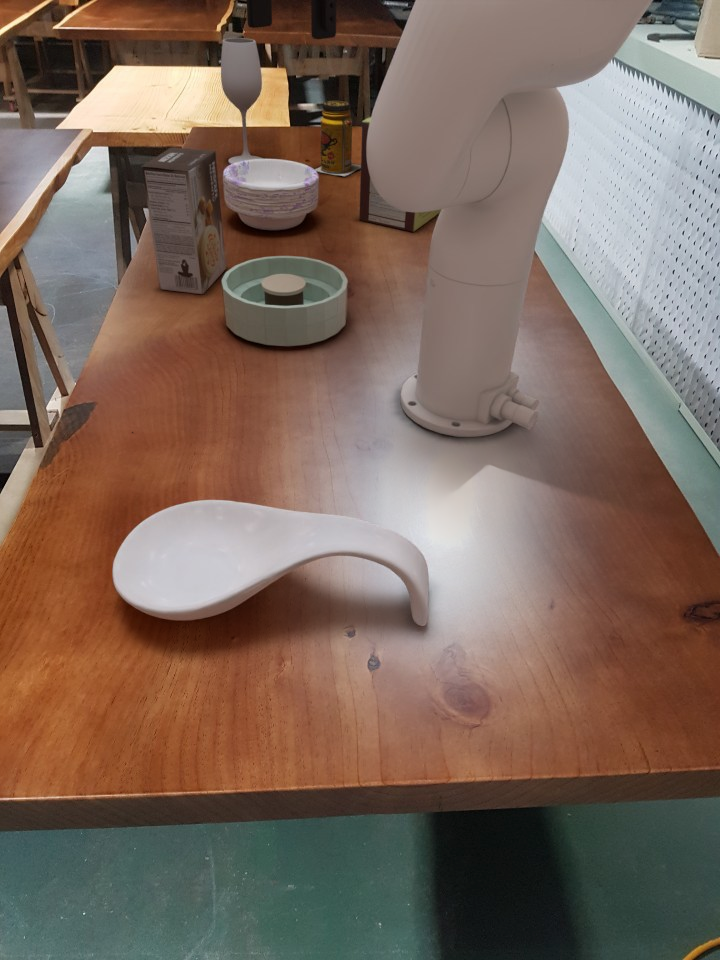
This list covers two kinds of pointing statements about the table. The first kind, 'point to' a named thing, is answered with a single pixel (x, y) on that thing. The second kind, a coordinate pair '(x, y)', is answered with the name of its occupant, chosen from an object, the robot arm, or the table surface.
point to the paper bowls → (271, 192)
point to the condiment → (336, 139)
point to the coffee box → (185, 218)
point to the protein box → (377, 207)
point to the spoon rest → (246, 556)
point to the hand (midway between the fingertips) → (291, 32)
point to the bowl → (285, 322)
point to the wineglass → (241, 80)
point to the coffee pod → (283, 290)
